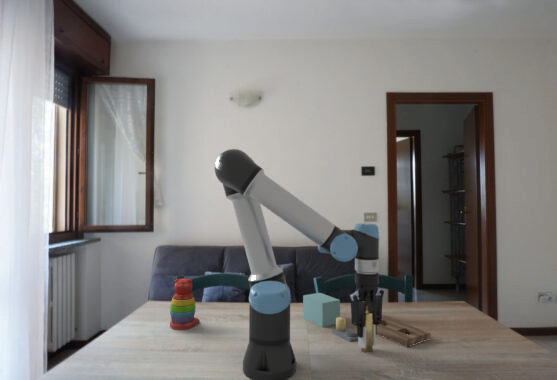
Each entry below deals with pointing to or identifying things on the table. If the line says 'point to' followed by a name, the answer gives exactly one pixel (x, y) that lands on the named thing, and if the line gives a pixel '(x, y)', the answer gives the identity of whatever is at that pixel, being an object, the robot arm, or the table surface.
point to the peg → (368, 332)
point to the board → (401, 332)
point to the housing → (321, 309)
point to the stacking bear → (183, 306)
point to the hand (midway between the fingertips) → (366, 345)
